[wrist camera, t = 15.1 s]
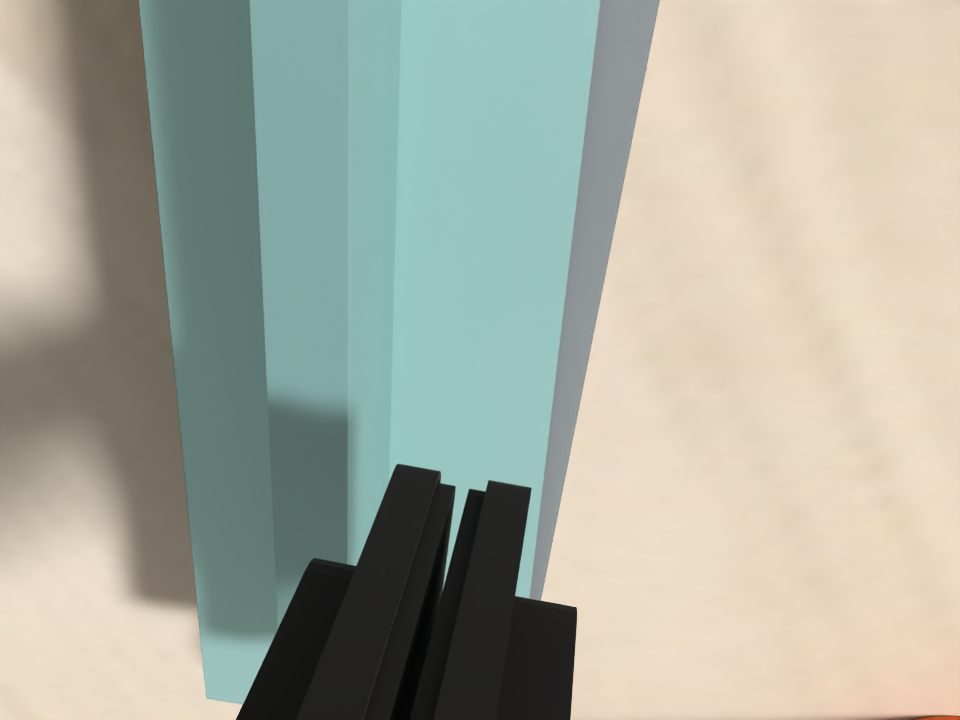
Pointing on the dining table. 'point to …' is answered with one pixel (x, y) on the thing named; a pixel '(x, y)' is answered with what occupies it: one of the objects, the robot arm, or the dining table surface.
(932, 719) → the paper cup
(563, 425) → the grey frame
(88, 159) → the dining table surface
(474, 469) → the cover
